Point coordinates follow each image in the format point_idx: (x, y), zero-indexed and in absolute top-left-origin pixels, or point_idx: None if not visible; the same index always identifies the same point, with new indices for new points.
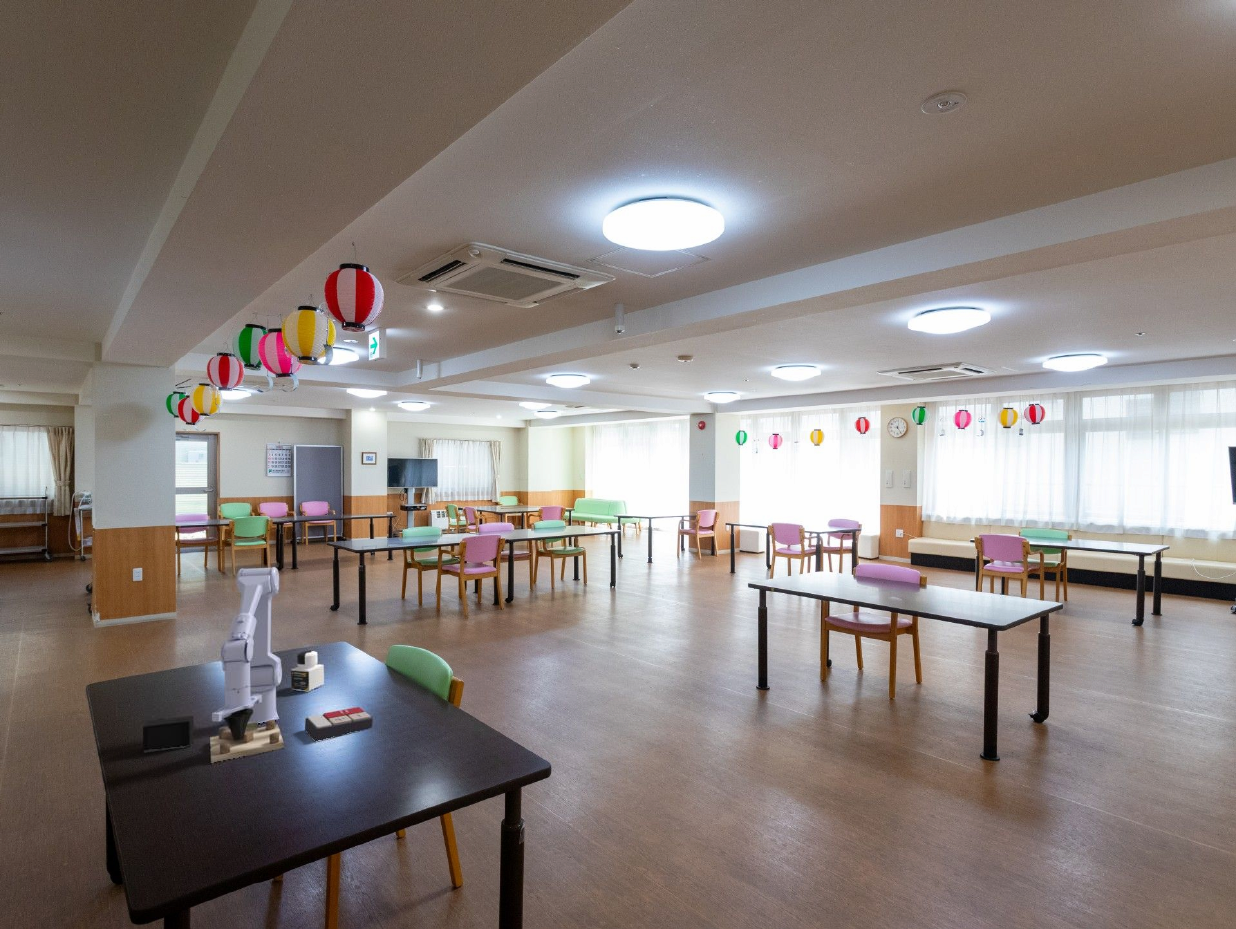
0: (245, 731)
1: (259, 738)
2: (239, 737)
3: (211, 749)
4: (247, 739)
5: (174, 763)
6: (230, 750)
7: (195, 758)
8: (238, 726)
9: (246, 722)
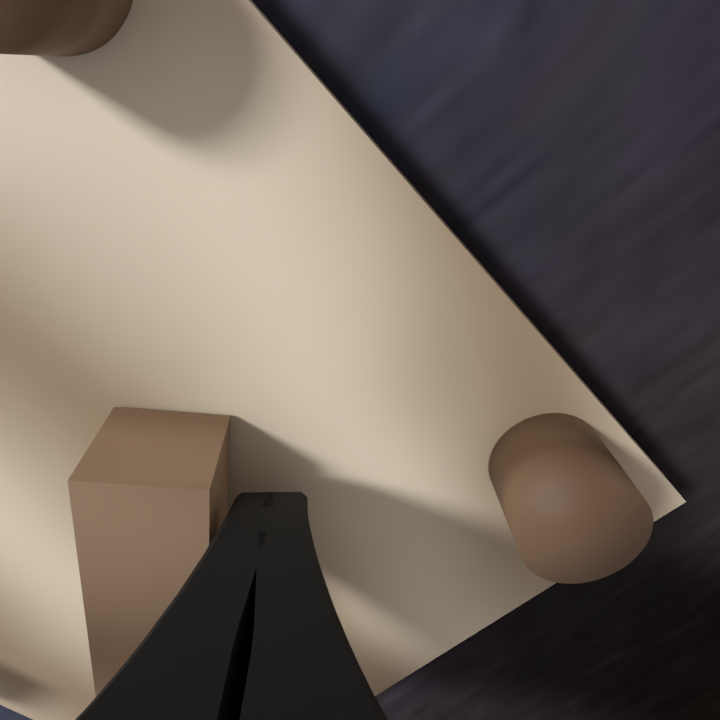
0: (97, 597)
1: (32, 364)
2: (307, 530)
3: (467, 632)
4: (213, 439)
5: (616, 703)
6: (480, 444)
7: (521, 645)
8: (377, 708)
9: (149, 713)
